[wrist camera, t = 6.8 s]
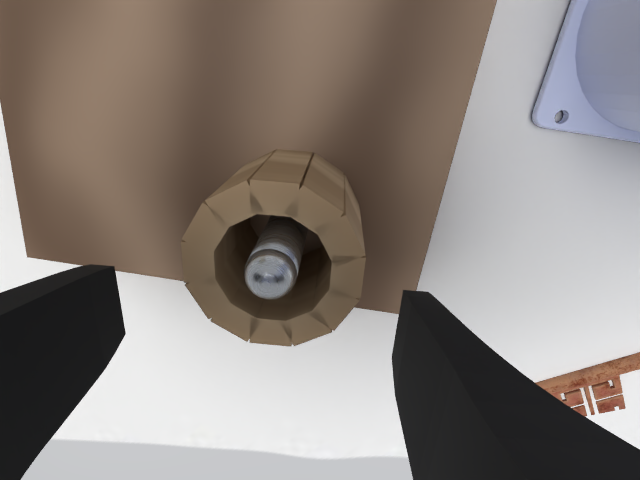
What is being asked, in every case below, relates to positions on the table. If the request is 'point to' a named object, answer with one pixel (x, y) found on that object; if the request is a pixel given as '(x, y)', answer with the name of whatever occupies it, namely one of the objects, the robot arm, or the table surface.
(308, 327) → the bead
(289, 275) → the silver metal cylinder
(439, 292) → the table surface
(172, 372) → the table surface
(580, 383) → the key
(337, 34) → the fabric cloth
